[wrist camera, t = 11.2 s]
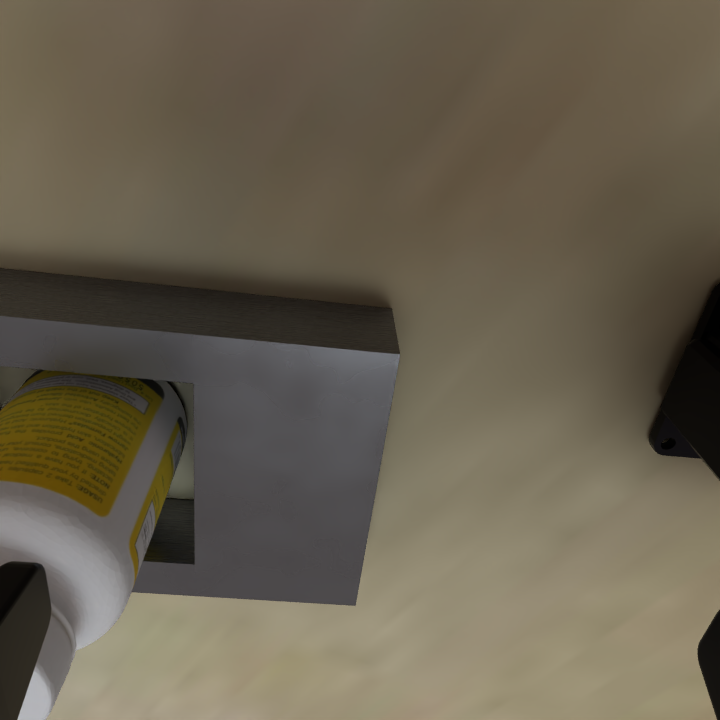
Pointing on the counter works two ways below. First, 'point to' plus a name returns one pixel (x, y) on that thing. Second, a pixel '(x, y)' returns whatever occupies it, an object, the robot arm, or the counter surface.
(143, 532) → the supplement bottle
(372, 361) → the grey slab with hole
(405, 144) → the counter surface
